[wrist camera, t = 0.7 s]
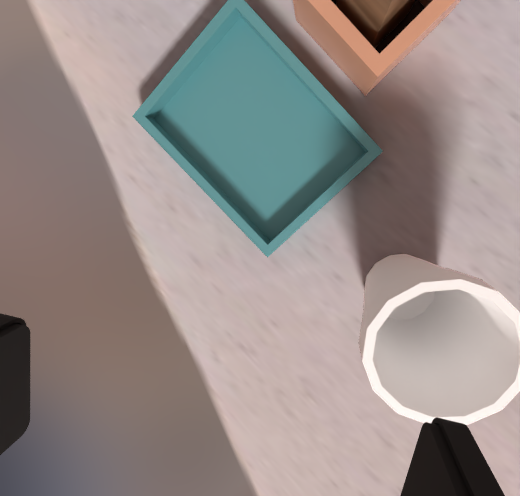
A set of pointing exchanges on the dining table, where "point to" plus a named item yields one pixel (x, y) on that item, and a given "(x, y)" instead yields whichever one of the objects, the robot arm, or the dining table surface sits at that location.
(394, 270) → the foam cup
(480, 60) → the dining table surface
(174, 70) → the tray
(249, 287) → the dining table surface
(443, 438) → the robot arm
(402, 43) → the holder cup
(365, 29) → the walnut stick
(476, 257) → the dining table surface
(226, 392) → the dining table surface
